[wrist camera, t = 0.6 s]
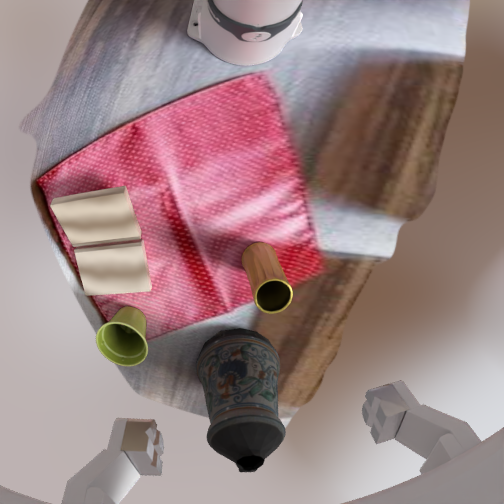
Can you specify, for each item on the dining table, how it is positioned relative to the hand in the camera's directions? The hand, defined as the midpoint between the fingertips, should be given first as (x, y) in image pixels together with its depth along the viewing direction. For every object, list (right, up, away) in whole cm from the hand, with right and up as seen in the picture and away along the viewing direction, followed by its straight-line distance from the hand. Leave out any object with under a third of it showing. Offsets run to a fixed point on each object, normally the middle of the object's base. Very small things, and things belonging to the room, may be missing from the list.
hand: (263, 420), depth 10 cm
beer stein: (-3, -17, +51) cm, 54 cm away
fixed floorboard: (-25, +4, +41) cm, 48 cm away
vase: (+1, +5, +44) cm, 44 cm away
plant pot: (-23, -7, +45) cm, 51 cm away
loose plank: (-25, +12, +35) cm, 45 cm away
